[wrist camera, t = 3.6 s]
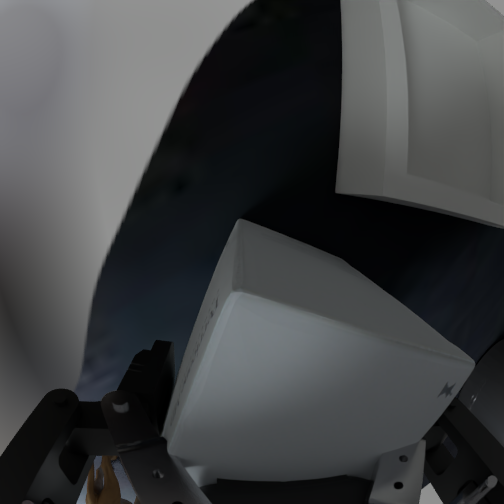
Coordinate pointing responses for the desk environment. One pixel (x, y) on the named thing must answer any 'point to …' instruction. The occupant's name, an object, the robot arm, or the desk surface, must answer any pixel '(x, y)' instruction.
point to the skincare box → (302, 368)
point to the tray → (424, 106)
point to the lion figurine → (105, 485)
